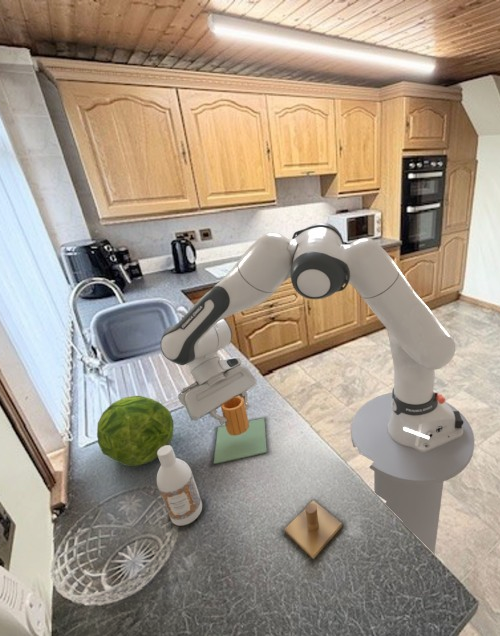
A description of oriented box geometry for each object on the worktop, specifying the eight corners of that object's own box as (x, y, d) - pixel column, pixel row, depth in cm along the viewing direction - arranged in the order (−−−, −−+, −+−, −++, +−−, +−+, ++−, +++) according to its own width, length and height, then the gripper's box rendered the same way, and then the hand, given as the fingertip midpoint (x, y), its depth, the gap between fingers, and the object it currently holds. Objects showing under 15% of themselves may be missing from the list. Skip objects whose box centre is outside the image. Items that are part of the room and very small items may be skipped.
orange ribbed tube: (248, 418, 102) (243, 394, 98) (248, 432, 97) (243, 407, 93) (227, 422, 101) (221, 398, 97) (226, 437, 96) (220, 412, 92)
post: (313, 502, 82) (311, 482, 79) (342, 526, 77) (340, 505, 74) (284, 531, 76) (280, 511, 73) (313, 559, 71) (310, 538, 68)
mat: (264, 419, 109) (264, 418, 109) (266, 452, 97) (266, 451, 96) (217, 428, 106) (217, 427, 106) (214, 464, 94) (213, 463, 94)
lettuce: (159, 414, 113) (129, 374, 105) (194, 437, 98) (162, 392, 90) (106, 456, 102) (67, 415, 94) (136, 489, 88) (94, 444, 80)
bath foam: (169, 531, 77) (143, 467, 69) (172, 504, 83) (148, 443, 75) (202, 520, 79) (181, 457, 71) (203, 495, 85) (183, 434, 76)
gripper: (176, 388, 89) (204, 434, 87) (244, 354, 103) (269, 394, 101) (173, 395, 94) (199, 439, 92) (237, 362, 107) (261, 400, 106)
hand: (236, 415), depth 97 cm, fingers closed on orange ribbed tube, 6 cm apart
